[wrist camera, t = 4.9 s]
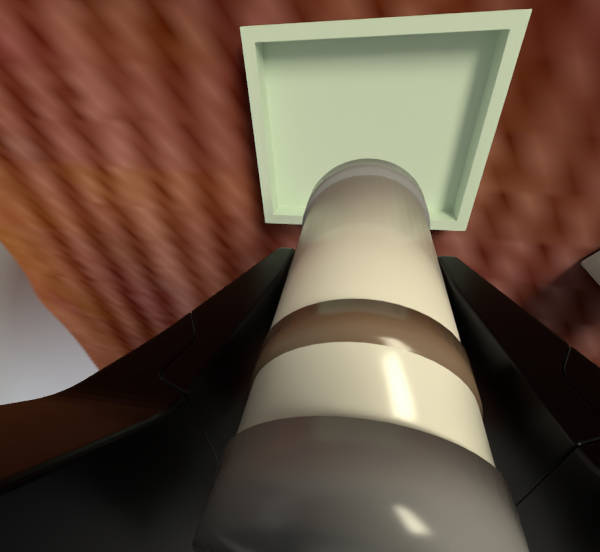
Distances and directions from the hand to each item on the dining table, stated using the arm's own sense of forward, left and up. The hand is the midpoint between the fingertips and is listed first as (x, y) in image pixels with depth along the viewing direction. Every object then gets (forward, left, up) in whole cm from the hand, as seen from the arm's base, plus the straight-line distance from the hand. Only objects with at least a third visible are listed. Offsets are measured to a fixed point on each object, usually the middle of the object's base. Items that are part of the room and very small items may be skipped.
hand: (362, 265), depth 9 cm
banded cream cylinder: (0, 0, -3) cm, 3 cm away
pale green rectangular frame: (0, 0, -12) cm, 13 cm away
